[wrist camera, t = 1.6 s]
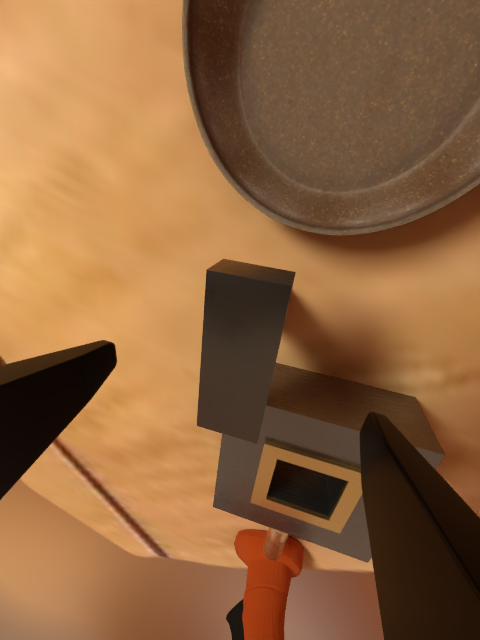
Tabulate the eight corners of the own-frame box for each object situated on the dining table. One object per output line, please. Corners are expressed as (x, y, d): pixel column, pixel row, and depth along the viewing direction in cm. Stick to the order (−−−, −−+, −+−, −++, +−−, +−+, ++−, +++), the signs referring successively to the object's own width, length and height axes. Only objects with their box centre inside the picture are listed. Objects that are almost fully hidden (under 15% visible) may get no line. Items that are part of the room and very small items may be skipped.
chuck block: (415, 397, 17) (447, 460, 13) (332, 545, 26) (336, 610, 22) (244, 355, 20) (225, 397, 15) (221, 505, 28) (205, 558, 24)
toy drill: (147, 532, 32) (52, 767, 19) (296, 523, 28) (315, 824, 14) (163, 555, 34) (86, 788, 20) (306, 550, 29) (332, 845, 16)
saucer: (326, -360, 8) (332, -594, 6) (708, -92, 8) (868, -211, 6) (163, 141, 15) (135, 129, 13) (373, 279, 15) (385, 293, 13)
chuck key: (301, 245, 15) (292, 286, 8) (279, 347, 18) (257, 444, 11) (256, 237, 16) (206, 269, 8) (241, 338, 19) (196, 425, 12)
